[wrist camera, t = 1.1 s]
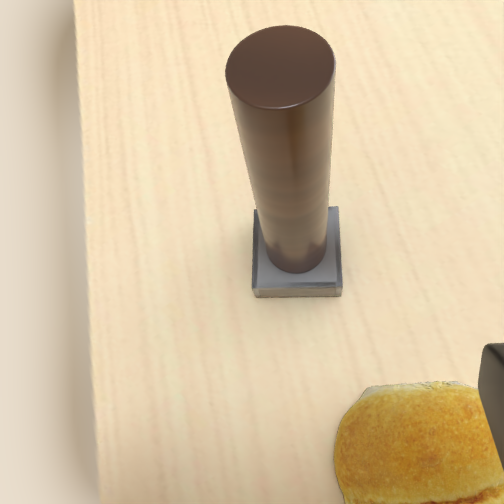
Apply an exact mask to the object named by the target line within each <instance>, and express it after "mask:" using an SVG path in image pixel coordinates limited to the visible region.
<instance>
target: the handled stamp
mask: <svg viewBox="0 0 504 504" xmlns="http://www.w3.org/2000/svg"><path fill="white" fill-rule="evenodd" d="M335 73H336V60H335V55H334V52H333V50H332V48H331V47H330V45H329V44H328V42H327V41H326V40H325V39H324V38H323V37H321V36H320V35H319V34H317V33H315V32H313V31H311V30H309V29H306V28H302V27H298V26H289V25H283V26H273V27H269V28H265V29H262V30H259V31H257V32H255V33H253V34H251V35H249V36H247V37H246V38H245V39H243V40H242V41H241V42H240V43H239V44H238V45H237V46H236V47H235V48H234V49H233V51H232V52H231V54H230V56H229V58H228V61H227V64H226V69H225V77H226V82H227V86H228V90H229V95H230V99H231V103H232V107H233V111H234V116H235V120H236V124H237V128H238V132H239V137H240V141H241V145H242V149H243V153H244V158H245V162H246V166H247V170H248V174H249V179H250V183H251V187H252V191H253V195H254V200H255V204H256V208H257V209H255V210H254V227H253V265H252V289H253V292H254V295H255V297H314V296H341V293H342V287H343V283H342V265H341V246H340V228H339V210H338V206H334V207H328V205H329V186H330V167H331V148H332V129H333V111H334V92H335Z"/></svg>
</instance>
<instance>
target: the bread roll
mask: <svg viewBox="0 0 504 504" xmlns="http://www.w3.org/2000/svg"><path fill="white" fill-rule="evenodd" d="M334 463H335V471H336V476H337V479H338V483H339V486H340V488H341V490H342V492H343V495H344V500H345V504H504V471H503V468H502V465H501V461H500V458H499V455H498V452H497V449H496V446H495V443H494V440H493V437H492V433H491V430H490V427H489V424H488V421H487V418H486V415H485V412H484V409H483V406H482V402H481V399H480V396H479V391H478V388H473V387H470V386H467V385H464V384H461V383H459V382H457V381H452V382H446V381H443V382H439V381H436V382H432V383H431V382H426V383H415V384H399V385H384V386H372V387H369V388H367V389H366V390H365V392H364V393H363V395H362V396H361V398H360V399H359V400H358V401H357V402H356V403H355V404H354V405H353V406H352V407H351V408H350V409H349V410H348V412H347V413H346V414H345V416H344V417H343V419H342V421H341V423H340V425H339V429H338V433H337V438H336V443H335V450H334Z"/></svg>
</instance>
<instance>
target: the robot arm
mask: <svg viewBox="0 0 504 504" xmlns="http://www.w3.org/2000/svg"><path fill="white" fill-rule="evenodd" d="M478 391H479V396H480V399H481V402H482V406H483V409H484V412H485V415H486V418H487V421H488V424H489V427H490V430H491V433H492V437H493V440H494V443H495V446H496V449H497V452H498V455H499V458H500V461H501V465H502V468H503V471H504V343H490V344H487V345H486V346H485V347H484V349H483V352H482V358H481V365H480V372H479V379H478Z"/></svg>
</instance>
